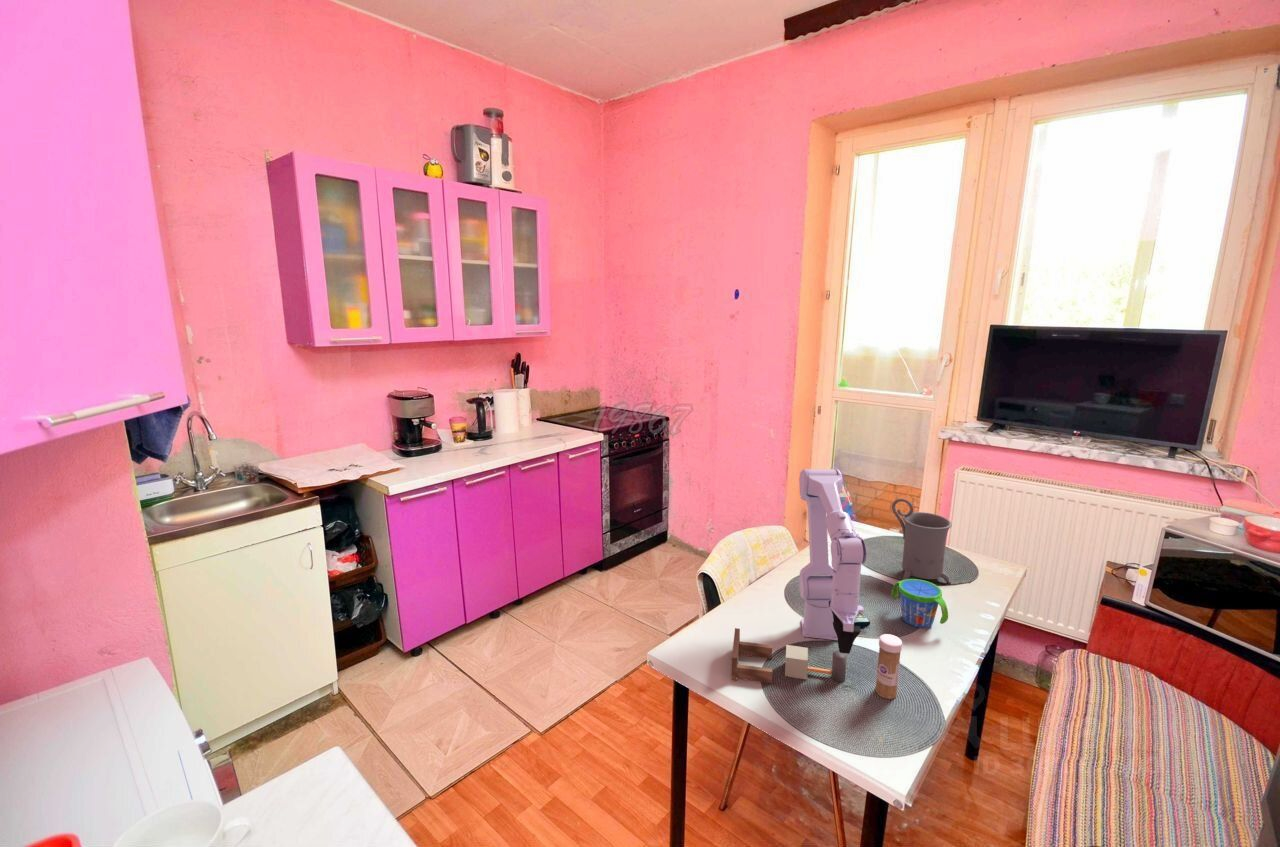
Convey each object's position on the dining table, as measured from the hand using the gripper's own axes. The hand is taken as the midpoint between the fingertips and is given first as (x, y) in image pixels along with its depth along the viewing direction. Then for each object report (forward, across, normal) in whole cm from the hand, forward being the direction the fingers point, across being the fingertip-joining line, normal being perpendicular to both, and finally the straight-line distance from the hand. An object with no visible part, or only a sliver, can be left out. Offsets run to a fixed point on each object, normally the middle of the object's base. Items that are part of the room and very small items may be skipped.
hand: (842, 642), depth 124 cm
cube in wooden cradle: (+9, 0, +20) cm, 22 cm away
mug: (+10, +57, -30) cm, 65 cm away
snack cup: (+10, +29, -24) cm, 39 cm away
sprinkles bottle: (+10, -3, -10) cm, 14 cm away
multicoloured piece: (+9, 0, +6) cm, 11 cm away
